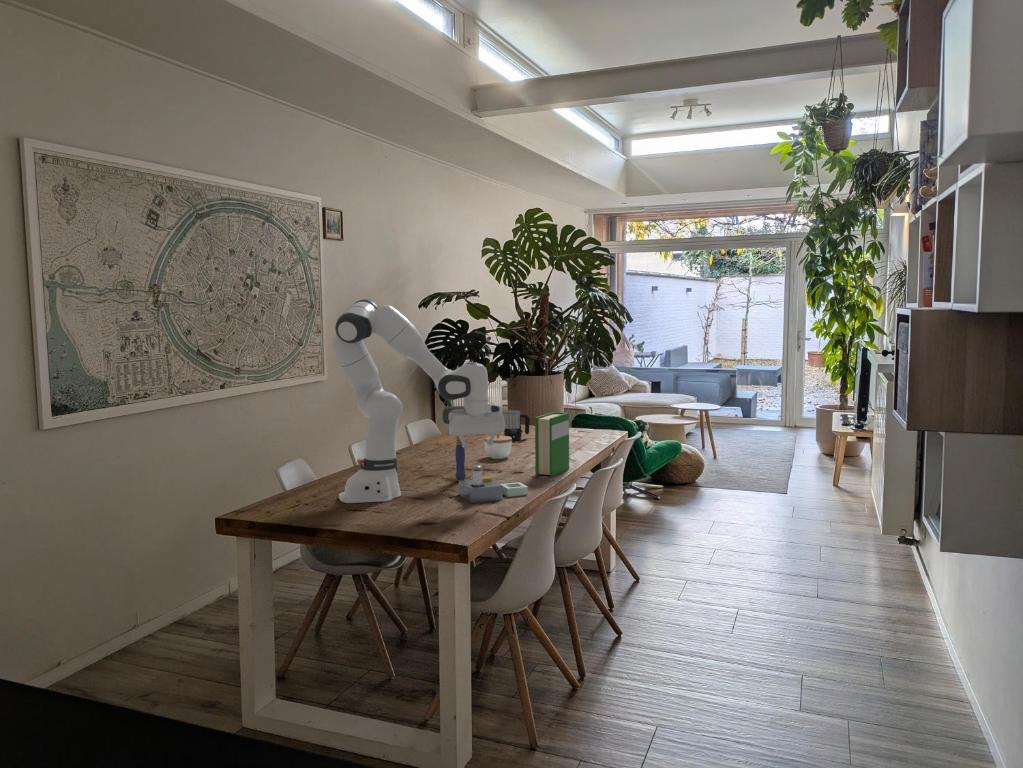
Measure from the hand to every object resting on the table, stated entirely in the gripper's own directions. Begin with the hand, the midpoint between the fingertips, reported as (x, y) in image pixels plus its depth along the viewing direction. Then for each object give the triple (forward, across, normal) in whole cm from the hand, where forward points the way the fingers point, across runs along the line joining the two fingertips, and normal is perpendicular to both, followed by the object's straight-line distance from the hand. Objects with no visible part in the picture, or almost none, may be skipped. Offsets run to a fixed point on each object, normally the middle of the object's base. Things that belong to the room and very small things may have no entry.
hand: (477, 446), depth 275 cm
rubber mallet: (+20, +2, +31) cm, 37 cm away
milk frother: (+20, +57, +116) cm, 131 cm away
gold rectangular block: (+19, +5, +7) cm, 21 cm away
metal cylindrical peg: (+19, 0, 0) cm, 19 cm away
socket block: (+19, +2, +3) cm, 20 cm away
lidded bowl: (+20, +32, +70) cm, 80 cm away
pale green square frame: (+20, +15, +3) cm, 25 cm away
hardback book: (+20, +42, +31) cm, 56 cm away
